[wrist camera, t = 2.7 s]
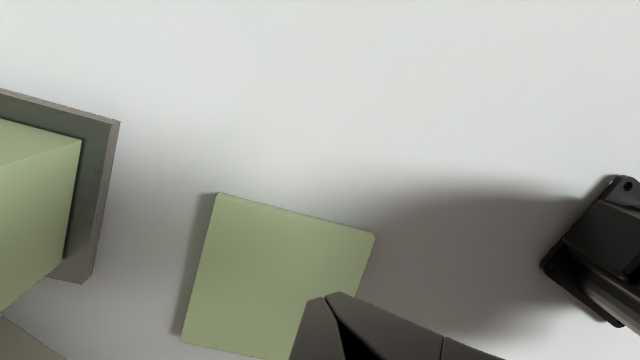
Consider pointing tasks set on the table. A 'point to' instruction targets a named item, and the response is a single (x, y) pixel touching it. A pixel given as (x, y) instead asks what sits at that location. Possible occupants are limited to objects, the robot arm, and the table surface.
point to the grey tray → (22, 344)
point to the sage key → (33, 204)
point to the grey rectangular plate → (89, 175)
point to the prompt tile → (267, 275)
